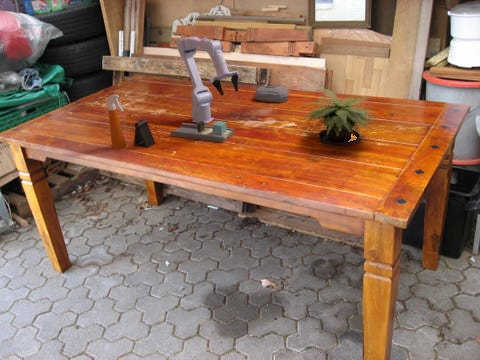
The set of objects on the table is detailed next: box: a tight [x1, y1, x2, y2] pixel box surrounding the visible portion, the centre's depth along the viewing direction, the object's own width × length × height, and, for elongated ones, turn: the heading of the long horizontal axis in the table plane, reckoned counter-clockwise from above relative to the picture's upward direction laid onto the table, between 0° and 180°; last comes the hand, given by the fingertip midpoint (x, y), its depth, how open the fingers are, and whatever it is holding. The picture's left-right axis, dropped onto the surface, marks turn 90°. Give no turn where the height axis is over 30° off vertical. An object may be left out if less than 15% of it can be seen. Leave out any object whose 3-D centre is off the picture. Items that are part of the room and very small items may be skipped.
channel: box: [170, 122, 235, 143], centre depth 226 cm, size 30×12×2 cm, turn 65°
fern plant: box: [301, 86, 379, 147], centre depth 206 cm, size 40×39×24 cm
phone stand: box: [133, 118, 156, 149], centre depth 217 cm, size 9×6×12 cm, turn 59°
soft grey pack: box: [254, 84, 290, 103], centre depth 269 cm, size 15×8×20 cm
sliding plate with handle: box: [196, 121, 233, 139], centre depth 223 cm, size 17×9×5 cm, turn 65°
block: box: [211, 120, 227, 135], centre depth 221 cm, size 5×5×5 cm
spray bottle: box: [104, 94, 128, 150], centre depth 213 cm, size 7×11×26 cm, turn 58°
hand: (229, 93), depth 216 cm, fingers open, 7 cm apart
